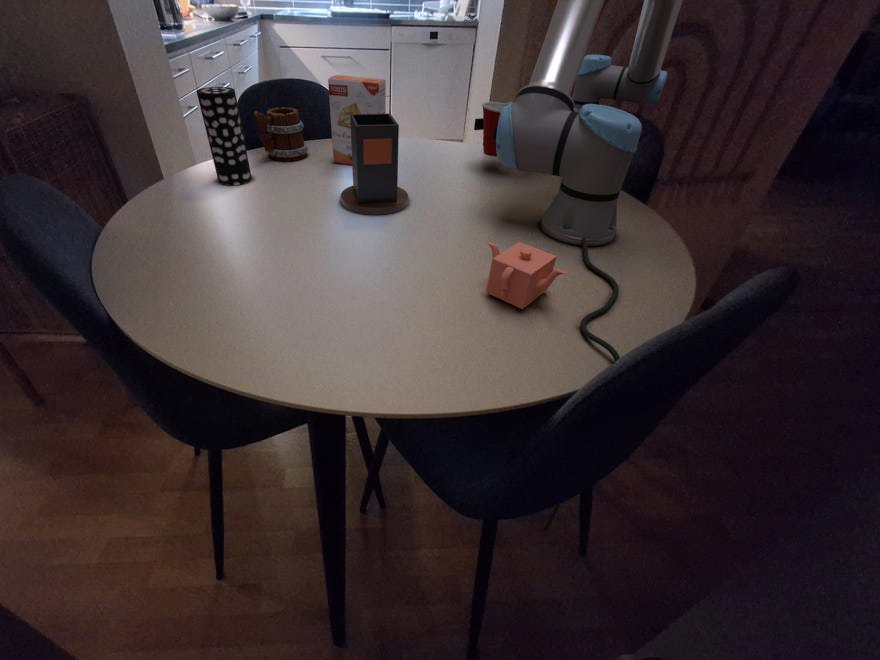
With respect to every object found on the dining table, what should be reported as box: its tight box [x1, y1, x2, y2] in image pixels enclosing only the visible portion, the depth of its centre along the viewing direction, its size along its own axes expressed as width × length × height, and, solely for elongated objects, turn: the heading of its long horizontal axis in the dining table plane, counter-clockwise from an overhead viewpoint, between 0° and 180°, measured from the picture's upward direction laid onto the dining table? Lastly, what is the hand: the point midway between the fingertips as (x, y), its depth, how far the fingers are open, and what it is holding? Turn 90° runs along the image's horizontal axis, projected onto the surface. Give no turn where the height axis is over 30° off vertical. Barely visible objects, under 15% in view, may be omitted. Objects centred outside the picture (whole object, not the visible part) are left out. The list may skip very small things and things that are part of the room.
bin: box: [350, 113, 400, 203], centre depth 98 cm, size 9×10×16 cm
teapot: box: [485, 240, 569, 310], centre depth 72 cm, size 12×15×8 cm
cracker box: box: [327, 74, 387, 166], centre depth 118 cm, size 14×6×21 cm, turn 73°
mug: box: [253, 106, 309, 162], centre depth 123 cm, size 12×14×15 cm
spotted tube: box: [195, 86, 253, 186], centre depth 106 cm, size 8×8×20 cm
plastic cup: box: [481, 101, 506, 158], centre depth 118 cm, size 11×11×12 cm
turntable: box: [340, 185, 409, 216], centre depth 104 cm, size 16×16×2 cm
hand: (484, 128), depth 116 cm, fingers closed on plastic cup, 9 cm apart
